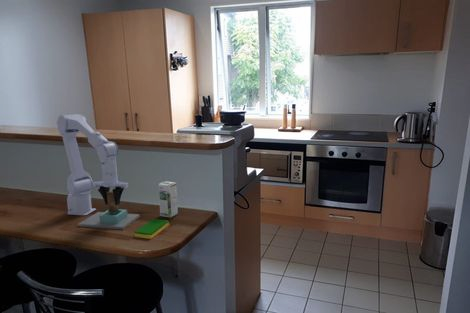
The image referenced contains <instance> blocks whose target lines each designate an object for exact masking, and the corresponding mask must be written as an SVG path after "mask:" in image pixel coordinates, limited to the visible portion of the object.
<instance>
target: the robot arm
mask: <svg viewBox="0 0 470 313" xmlns="http://www.w3.org/2000/svg"><path fill="white" fill-rule="evenodd" d="M56 125H57V128H58V133H59V135H60V136H61V137H62V141H63V144H64V145H63V146H64V150H65V153H66V156H67V160H68V163H69V164H68V166H69V170H70V174H69V176H67V178H66V180H65V181H66V189H67V192H68V195H67V198H66V204H67V215H70V216H71V215H72V216H73V215H74V216H88V215H90V214H91V213H93V212H94V211H96V210H97V208H92V197H91V193H92V190H93V188H98V193H99V194H100V195H101V197H102V199H103V201H104V204H105V205H107V206H108V202H107V192H109V191H113V193H114V197H115V204H116V205H118V206H119V205H120V203H121V197H122V194H123V192H124V190H125V189H128V188H129V182H124V181H119V179H118V178H119V177H118V168H117V155H118V154H119V146H118V144H117V143H116V142H115V141H111V140H110V141H109V140H108V139H107V138H106V137H105V136H104V135H102V133H101V132H99V131H94V130H93V128H92V127H91V126H90V125H89V124H88V123H87V118H86V117H85V116H84V115H83V114H82V113H77V114H76V113H75V114H64V115H63V114H59V116H58V118H57V120H56ZM79 133H81V134H83V136H85V137H87V142H88V143H89V144H90V146H92V147H93V148H94V149H95V150H96V154H97V156H98V158H99V162H100V164H101V165H100V166H101V175H102V180H101V181H93V179H92V177H91V174H90V172H87V171H85V170H84V166H83V161H82V157H81V154H80V149H79V145H78V141H77V138H76V137H77V135H78V134H79ZM111 188H113V189H111Z"/></svg>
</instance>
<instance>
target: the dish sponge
mask: <svg viewBox="0 0 470 313" xmlns="http://www.w3.org/2000/svg"><path fill="white" fill-rule="evenodd" d="M169 221H170V220H167V219H159V218H153V219H151V220H149V221H148V222H147V223H145V224H144V225H142V226H141V227H140V228H138V229H136V230H135V231H134V237H135V238H140V239H141V238H142V239H149V240H151V239H153V238H154V237H155V236H157V235H158V234H159V233H161V232H162V231H163V230H164V229H166V228H168V226H170V222H169Z"/></svg>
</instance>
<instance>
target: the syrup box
mask: <svg viewBox="0 0 470 313" xmlns="http://www.w3.org/2000/svg"><path fill="white" fill-rule="evenodd" d="M177 185H178V184H177V182H173V181H167V180H166V181H162V182H160V183H158V200H159V216H160V217H165V218H170V219H171V218H172V217H174V216H176V215H177V214H178V212H179V209H178V191H177V190H178V188H177Z"/></svg>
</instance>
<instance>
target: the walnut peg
mask: <svg viewBox="0 0 470 313" xmlns="http://www.w3.org/2000/svg"><path fill="white" fill-rule="evenodd" d="M107 202H108V204H107V210H108V212H117V211H118V209H119V204H118V205H116V204H115V197H114V193H113V191H112V190H110V191H109V192H107Z"/></svg>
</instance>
